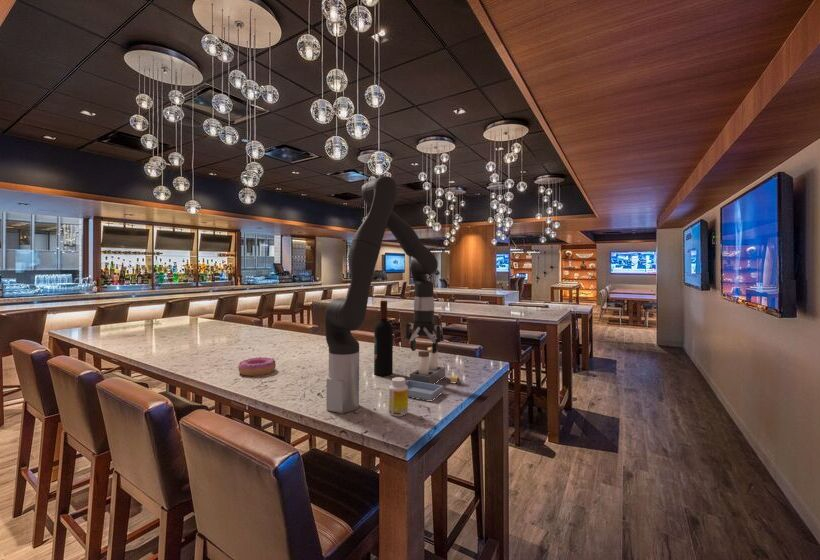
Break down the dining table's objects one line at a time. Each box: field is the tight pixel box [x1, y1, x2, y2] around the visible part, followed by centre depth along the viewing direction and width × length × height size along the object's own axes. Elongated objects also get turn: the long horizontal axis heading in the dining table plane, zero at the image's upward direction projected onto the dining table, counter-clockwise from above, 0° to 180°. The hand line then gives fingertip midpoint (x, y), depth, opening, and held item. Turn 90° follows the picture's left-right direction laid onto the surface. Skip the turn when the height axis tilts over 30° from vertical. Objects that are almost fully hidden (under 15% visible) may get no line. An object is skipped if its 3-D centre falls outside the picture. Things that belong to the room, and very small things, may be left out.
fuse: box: [427, 346, 439, 371], centre depth 143 cm, size 4×4×12 cm
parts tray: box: [405, 379, 444, 401], centre depth 124 cm, size 14×10×2 cm
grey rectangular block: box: [409, 366, 446, 384], centre depth 139 cm, size 15×8×4 cm, turn 152°
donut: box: [237, 356, 277, 377], centre depth 150 cm, size 14×14×5 cm
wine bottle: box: [373, 300, 394, 378], centre depth 148 cm, size 8×8×30 cm
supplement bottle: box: [388, 376, 409, 417], centre depth 107 cm, size 6×6×10 cm
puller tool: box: [450, 374, 458, 383], centre depth 140 cm, size 8×2×1 cm, turn 172°
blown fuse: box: [417, 350, 429, 376], centre depth 135 cm, size 4×4×12 cm
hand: (424, 351), depth 136 cm, fingers open, 8 cm apart
